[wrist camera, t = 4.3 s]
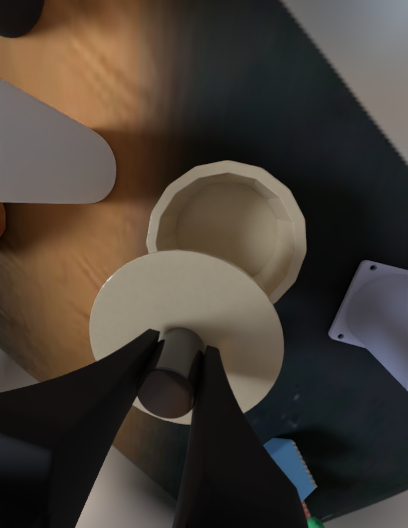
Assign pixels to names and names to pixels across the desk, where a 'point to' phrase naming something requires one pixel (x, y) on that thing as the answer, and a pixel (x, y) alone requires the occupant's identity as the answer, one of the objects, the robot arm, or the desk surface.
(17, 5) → the travel mug
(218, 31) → the desk surface
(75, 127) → the can
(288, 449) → the building blocks
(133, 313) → the pot lid
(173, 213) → the beige hollow cylinder
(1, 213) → the cheeseburger
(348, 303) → the robot arm
